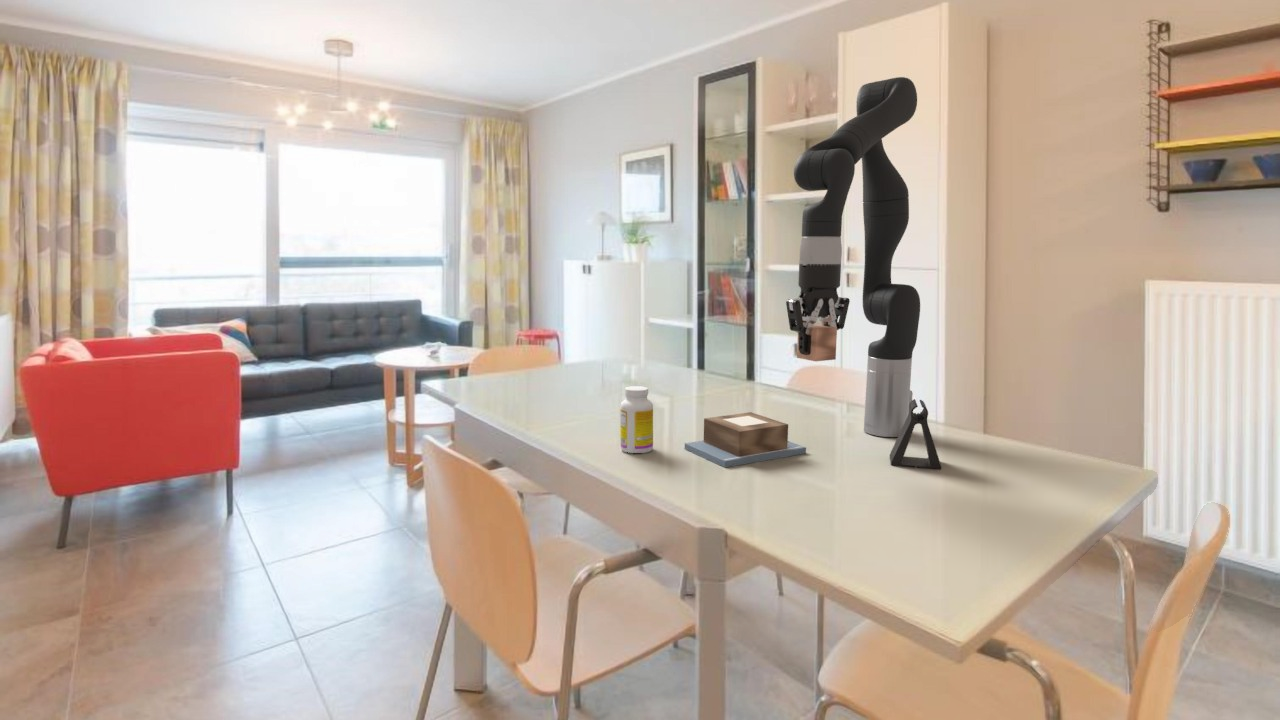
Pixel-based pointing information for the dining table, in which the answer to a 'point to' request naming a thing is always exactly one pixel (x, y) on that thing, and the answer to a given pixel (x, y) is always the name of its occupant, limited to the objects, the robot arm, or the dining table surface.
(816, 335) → the terracotta block
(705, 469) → the dining table surface
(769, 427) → the base
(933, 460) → the phone stand
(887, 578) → the dining table surface
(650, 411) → the supplement bottle
